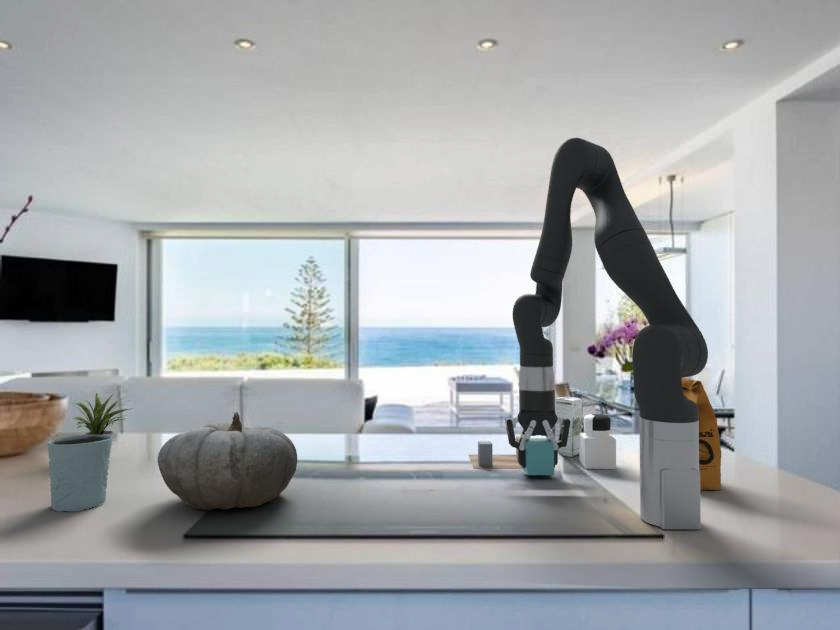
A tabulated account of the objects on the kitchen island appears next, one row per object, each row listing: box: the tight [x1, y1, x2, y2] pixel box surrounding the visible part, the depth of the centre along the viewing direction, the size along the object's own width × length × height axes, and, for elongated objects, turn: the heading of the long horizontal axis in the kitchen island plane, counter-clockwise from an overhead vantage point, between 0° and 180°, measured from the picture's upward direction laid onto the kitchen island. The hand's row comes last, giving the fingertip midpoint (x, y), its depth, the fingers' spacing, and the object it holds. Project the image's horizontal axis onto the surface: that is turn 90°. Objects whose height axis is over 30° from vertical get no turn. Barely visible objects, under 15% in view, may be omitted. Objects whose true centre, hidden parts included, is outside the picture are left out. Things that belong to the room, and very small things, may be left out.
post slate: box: [477, 440, 493, 466], centre depth 130 cm, size 3×3×5 cm
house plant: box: [70, 392, 134, 447], centre depth 139 cm, size 14×14×16 cm
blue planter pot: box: [47, 434, 113, 512], centre depth 104 cm, size 10×10×12 cm
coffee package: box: [682, 377, 722, 491], centre depth 118 cm, size 10×12×22 cm
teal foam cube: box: [521, 437, 555, 476], centre depth 119 cm, size 6×6×7 cm
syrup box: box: [552, 396, 583, 458], centre depth 145 cm, size 6×6×14 cm
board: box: [468, 435, 523, 470], centre depth 133 cm, size 14×16×6 cm
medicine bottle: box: [578, 413, 617, 470], centre depth 133 cm, size 7×7×12 cm
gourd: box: [157, 411, 298, 511], centre depth 106 cm, size 25×25×17 cm
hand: (537, 466), depth 119 cm, fingers closed on teal foam cube, 5 cm apart
